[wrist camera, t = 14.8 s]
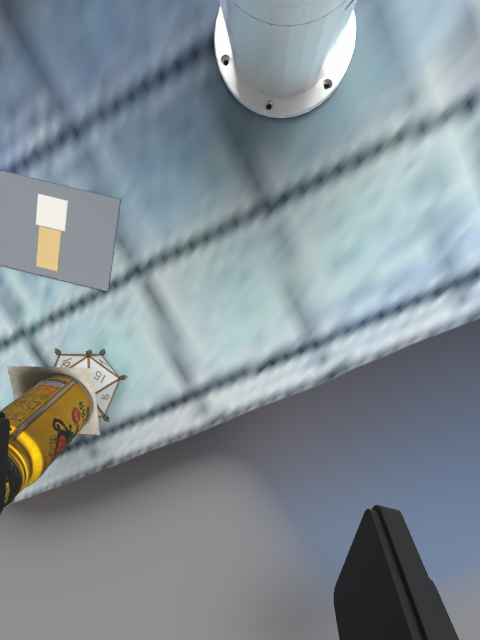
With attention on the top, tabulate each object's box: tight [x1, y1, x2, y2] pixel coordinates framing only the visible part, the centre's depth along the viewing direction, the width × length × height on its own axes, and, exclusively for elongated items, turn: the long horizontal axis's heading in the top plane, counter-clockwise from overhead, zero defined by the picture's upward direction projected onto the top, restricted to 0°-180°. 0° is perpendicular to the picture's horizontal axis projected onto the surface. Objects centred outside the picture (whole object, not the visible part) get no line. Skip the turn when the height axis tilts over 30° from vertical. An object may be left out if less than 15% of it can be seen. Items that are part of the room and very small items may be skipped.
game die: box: [54, 349, 127, 422], centre depth 43 cm, size 9×8×10 cm
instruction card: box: [0, 170, 121, 291], centre depth 42 cm, size 10×14×1 cm
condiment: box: [1, 366, 100, 507], centre depth 33 cm, size 7×8×12 cm
